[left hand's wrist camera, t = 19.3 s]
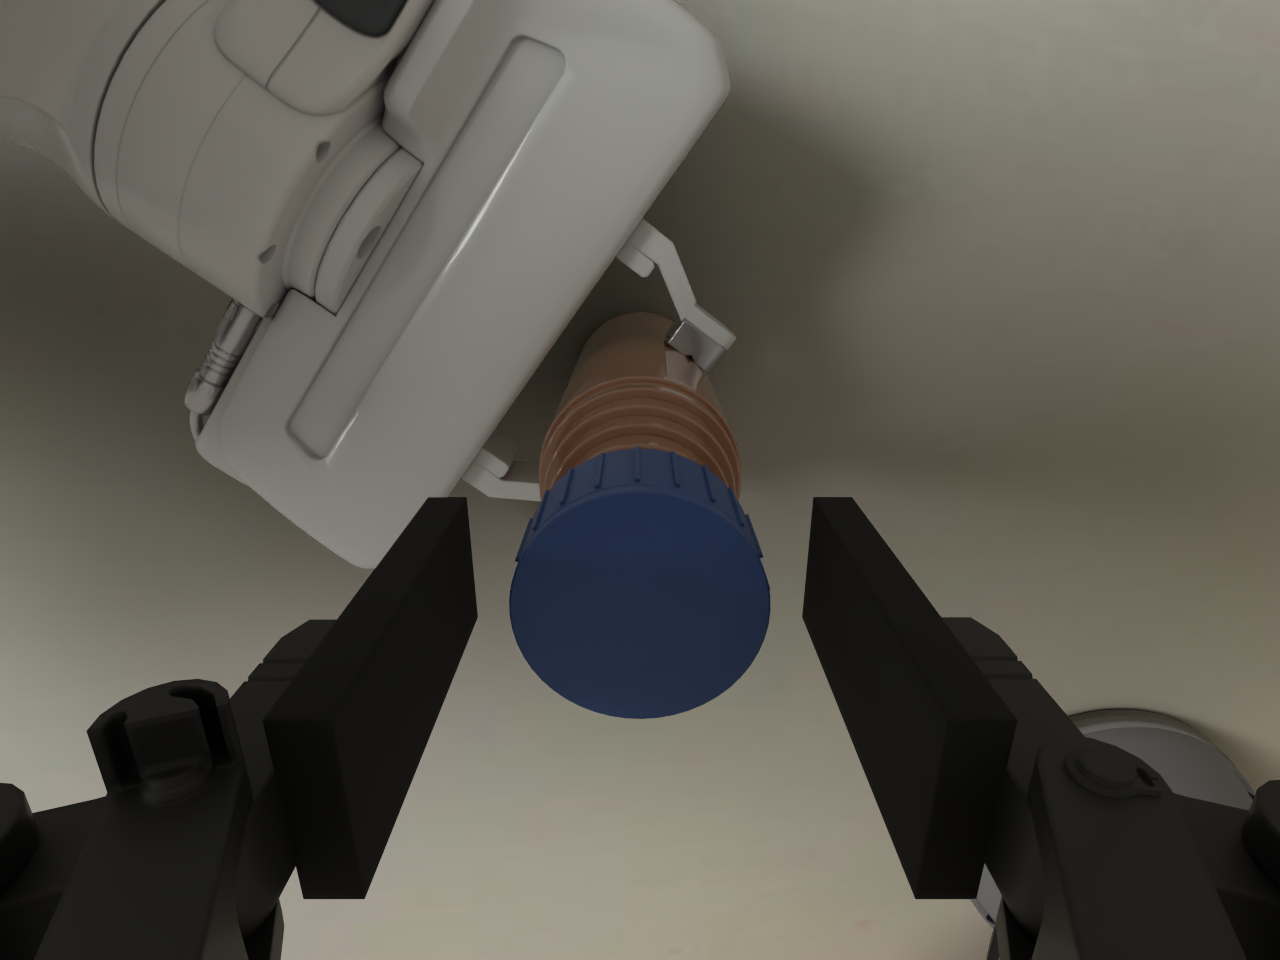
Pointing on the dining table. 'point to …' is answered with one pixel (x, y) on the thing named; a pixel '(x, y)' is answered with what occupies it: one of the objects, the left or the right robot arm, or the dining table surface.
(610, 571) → the cap
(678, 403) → the bottle
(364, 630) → the left robot arm
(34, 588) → the dining table surface
